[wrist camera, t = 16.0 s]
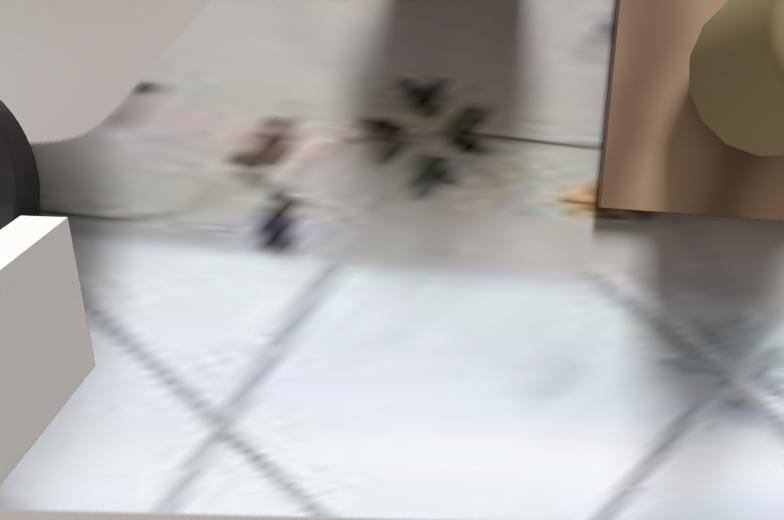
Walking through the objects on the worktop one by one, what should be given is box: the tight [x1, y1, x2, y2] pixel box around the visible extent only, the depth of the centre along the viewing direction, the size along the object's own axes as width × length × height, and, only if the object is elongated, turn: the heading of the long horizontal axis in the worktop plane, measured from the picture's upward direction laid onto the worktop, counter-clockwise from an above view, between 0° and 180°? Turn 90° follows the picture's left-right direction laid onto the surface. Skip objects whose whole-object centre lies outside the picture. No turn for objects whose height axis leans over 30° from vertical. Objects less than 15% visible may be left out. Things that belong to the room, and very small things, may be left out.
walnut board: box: [597, 0, 784, 221], centre depth 40 cm, size 14×14×2 cm
